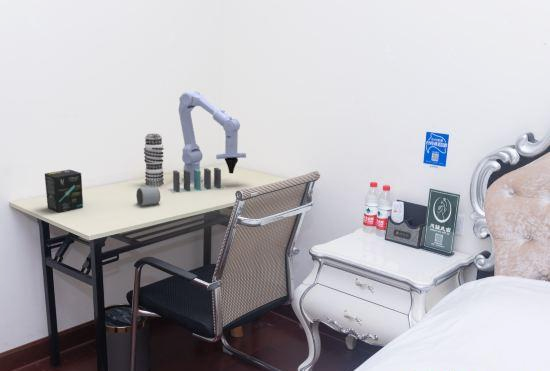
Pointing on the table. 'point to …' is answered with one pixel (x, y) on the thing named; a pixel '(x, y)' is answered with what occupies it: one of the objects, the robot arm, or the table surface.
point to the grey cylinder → (148, 196)
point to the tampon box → (64, 190)
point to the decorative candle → (153, 160)
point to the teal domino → (197, 179)
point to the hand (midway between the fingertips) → (231, 173)
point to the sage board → (195, 189)
